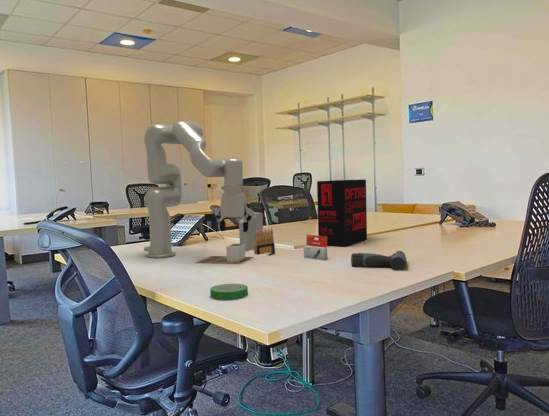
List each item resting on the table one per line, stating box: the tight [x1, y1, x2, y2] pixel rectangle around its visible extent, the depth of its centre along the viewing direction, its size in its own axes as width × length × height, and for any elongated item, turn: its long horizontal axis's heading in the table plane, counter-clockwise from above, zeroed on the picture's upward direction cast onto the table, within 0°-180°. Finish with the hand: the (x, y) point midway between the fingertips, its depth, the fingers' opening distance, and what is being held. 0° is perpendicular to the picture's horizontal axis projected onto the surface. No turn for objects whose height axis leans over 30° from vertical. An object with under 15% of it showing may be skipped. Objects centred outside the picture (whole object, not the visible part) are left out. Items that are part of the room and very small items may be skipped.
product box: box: [316, 179, 368, 248], centre depth 232 cm, size 26×14×32 cm, turn 145°
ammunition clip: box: [253, 227, 276, 256], centre depth 202 cm, size 11×2×12 cm, turn 132°
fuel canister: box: [238, 211, 264, 251], centre depth 222 cm, size 15×5×25 cm, turn 144°
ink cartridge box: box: [303, 234, 329, 261], centre depth 190 cm, size 2×11×10 cm, turn 47°
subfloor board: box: [194, 255, 255, 265], centre depth 187 cm, size 20×16×1 cm
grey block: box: [225, 243, 246, 262], centre depth 186 cm, size 5×8×6 cm, turn 163°
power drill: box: [350, 250, 408, 271], centre depth 173 cm, size 5×19×20 cm
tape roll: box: [209, 283, 249, 301], centre depth 135 cm, size 11×11×3 cm
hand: (234, 231), depth 185 cm, fingers open, 9 cm apart
